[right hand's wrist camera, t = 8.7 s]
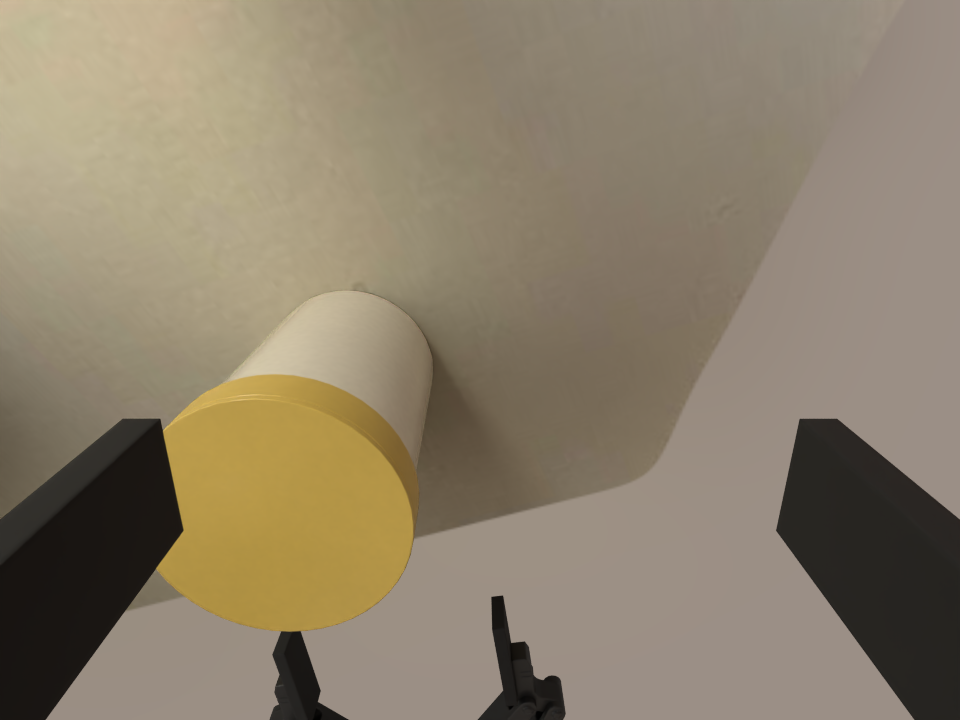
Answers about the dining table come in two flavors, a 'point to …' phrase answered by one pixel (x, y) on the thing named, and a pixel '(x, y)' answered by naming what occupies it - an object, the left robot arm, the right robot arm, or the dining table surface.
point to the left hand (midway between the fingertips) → (390, 623)
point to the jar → (355, 356)
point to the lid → (288, 503)
